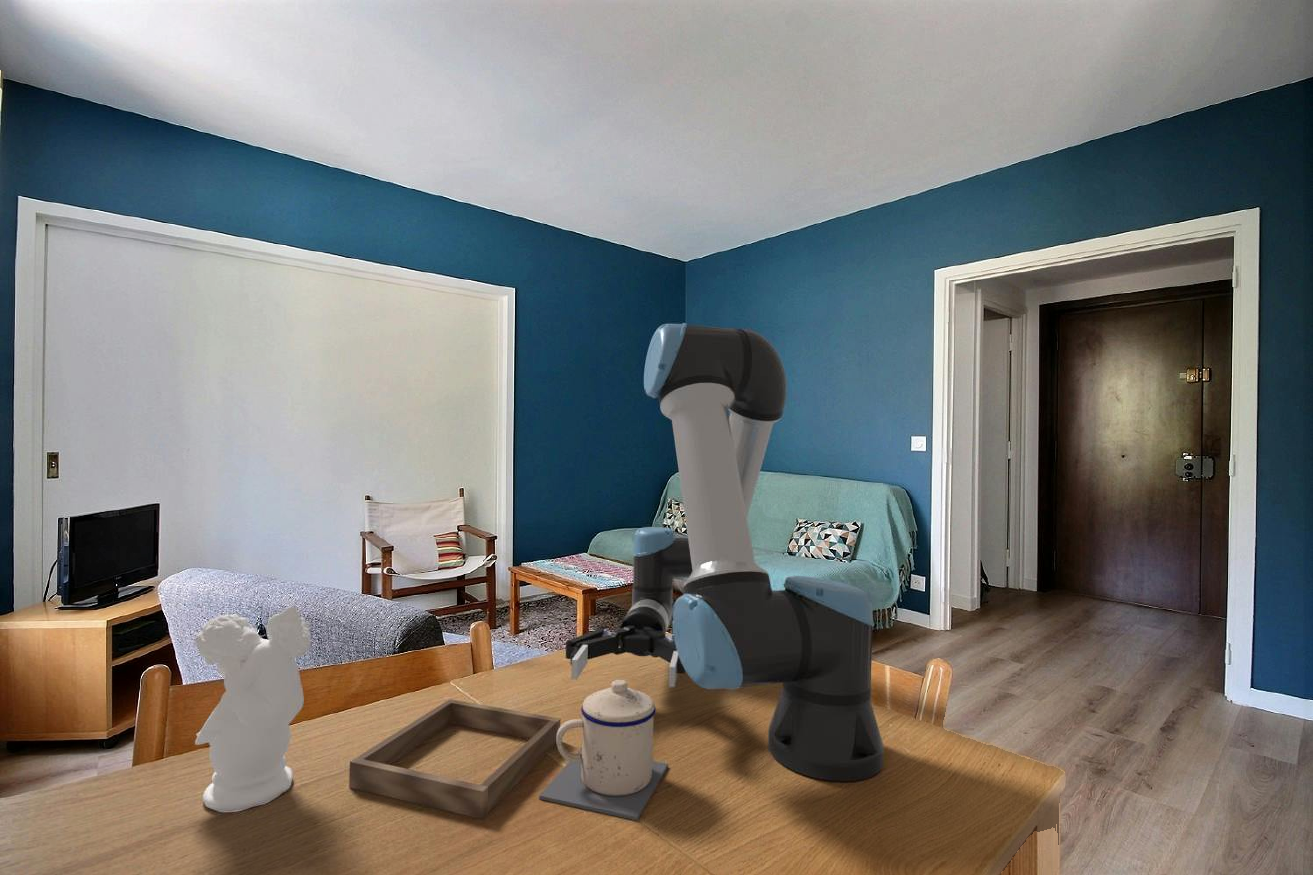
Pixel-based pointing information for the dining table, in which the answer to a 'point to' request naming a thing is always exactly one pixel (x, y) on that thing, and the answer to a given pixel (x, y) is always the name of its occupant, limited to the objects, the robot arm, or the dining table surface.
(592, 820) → the dining table surface
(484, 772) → the dining table surface
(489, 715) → the walnut box
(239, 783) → the cherub figurine
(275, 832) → the dining table surface
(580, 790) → the charcoal mat
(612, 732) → the teacup with lid
